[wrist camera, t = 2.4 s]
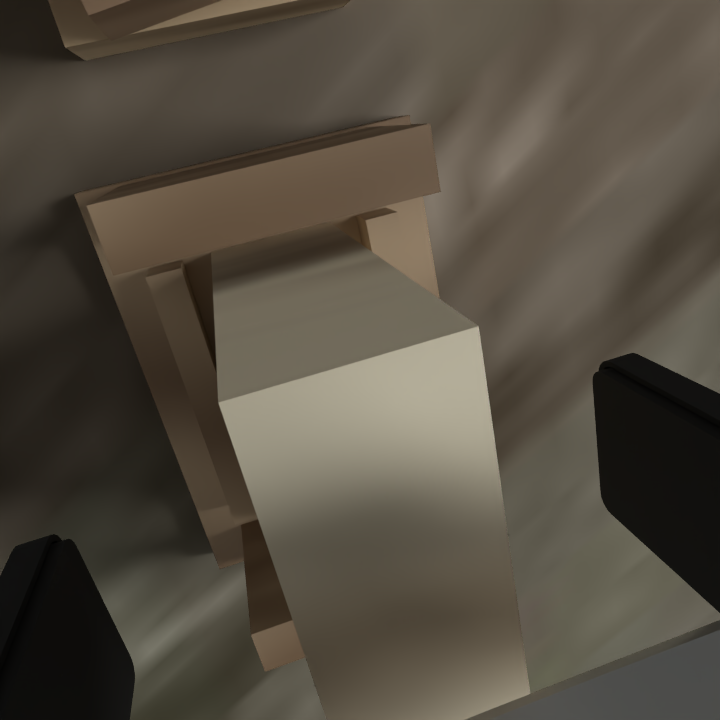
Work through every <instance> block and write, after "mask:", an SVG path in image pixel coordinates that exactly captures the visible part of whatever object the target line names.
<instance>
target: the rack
mask: <svg viewBox="0 0 720 720" xmlns="http://www.w3.org/2000/svg"><path fill="white" fill-rule="evenodd" d="M438 192H441V191H440V184H439V178H438V171H437V165H436V158H435V152H434V145H433V138H432V132H431V125H430V124H411V122H410V116H409V115H407V116H398V117H394V118H390V119H386V120H381V121H377V122H373V123H369V124H364V125H360V126H356V127H352V128H347V129H343V130H339V131H335V132H330V133H326V134H322V135H318V136H314V137H309V138H305V139H301V140H297V141H292V142H288V143H284V144H280V145H275V146H271V147H267V148H263V149H258V150H254V151H250V152H246V153H241V154H237V155H233V156H229V157H224V158H220V159H216V160H212V161H207V162H203V163H199V164H195V165H190V166H186V167H182V168H178V169H173V170H169V171H165V172H161V173H157V174H152V175H148V176H144V177H140V178H135V179H131V180H127V181H123V182H118V183H114V184H110V185H106V186H101V187H97V188H93V189H89V190H84V191H80V192H78V193H76V194H74V196H75V198H76V201H77V203H78V206H79V208H80V211H81V214H82V216H83V219H84V221H85V224H86V226H87V229H88V232H89V234H90V237H91V239H92V242H93V244H94V247H95V250H96V252H97V255H98V257H99V260H100V262H101V265H102V268H103V270H104V273H105V275H106V278H107V280H108V283H109V286H110V288H111V291H112V293H113V296H114V298H115V301H116V304H117V306H118V309H119V311H120V314H121V316H122V319H123V322H124V324H125V327H126V329H127V332H128V334H129V337H130V340H131V342H132V345H133V347H134V350H135V352H136V355H137V358H138V360H139V363H140V365H141V368H142V370H143V373H144V376H145V378H146V381H147V383H148V386H149V388H150V391H151V394H152V396H153V399H154V401H155V404H156V406H157V409H158V412H159V414H160V417H161V419H162V422H163V424H164V427H165V430H166V432H167V435H168V437H169V440H170V442H171V445H172V448H173V450H174V453H175V455H176V458H177V460H178V463H179V466H180V468H181V471H182V473H183V476H184V478H185V481H186V484H187V486H188V489H189V491H190V494H191V496H192V499H193V502H194V504H195V507H196V509H197V512H198V514H199V517H200V520H201V522H202V525H203V527H204V530H205V532H206V535H207V538H208V540H209V543H210V545H211V548H212V550H213V553H214V555H215V558H216V561H217V563H218V566H219V568H220V569H222V568H225V567H228V566H231V565H234V564H237V563H240V562H243V561H244V564H245V575H246V586H247V596H248V607H249V618H250V629H251V636H252V639H253V641H254V644H255V646H256V649H257V652H258V654H259V657H260V659H261V662H262V665H263V667H264V670H265V672H266V671H269V670H271V669H274V668H277V667H280V666H282V665H285V664H288V663H291V662H293V661H296V660H299V659H302V658H305V655H304V652H303V649H302V646H301V643H300V640H299V637H298V634H297V631H296V628H295V626H294V623H293V620H292V617H291V614H290V611H289V608H288V605H287V602H286V599H285V596H284V593H283V590H282V588H281V585H280V582H279V579H278V576H277V573H276V570H275V567H274V564H273V561H272V558H271V555H270V552H269V550H268V547H267V544H266V541H265V538H264V535H263V532H262V529H261V526H260V523H259V520H258V517H257V514H256V512H255V509H254V506H253V503H252V500H251V497H250V494H249V491H248V488H247V485H246V482H245V479H244V476H243V474H242V471H241V468H240V465H239V462H238V459H237V456H236V453H235V450H234V447H233V444H232V441H231V438H230V435H229V433H228V430H227V427H226V424H225V421H224V418H223V415H222V412H221V409H220V406H219V403H218V387H217V366H216V345H215V325H214V304H213V283H212V262H211V252H215V251H219V250H223V249H227V248H230V247H234V246H238V245H242V244H246V243H250V242H254V241H258V240H261V239H265V238H269V237H273V236H277V235H281V234H285V233H289V232H293V231H296V230H300V229H304V228H308V227H312V226H316V225H320V224H324V223H328V222H330V223H331V224H333V225H334V226H336V227H337V228H339V229H340V230H341V231H343V232H344V233H346V234H347V235H349V236H350V237H352V238H353V239H354V240H356V241H357V242H359V243H360V244H362V245H363V246H364V247H366V248H367V249H369V250H370V251H372V252H373V253H374V254H376V255H377V256H379V257H380V258H382V259H383V260H384V261H386V262H387V263H389V264H390V265H392V266H393V267H394V268H396V269H397V270H399V271H400V272H402V273H403V274H404V275H406V276H407V277H409V278H410V279H412V280H413V281H415V282H416V283H417V284H419V285H420V286H422V287H423V288H425V289H426V290H427V291H429V292H430V293H432V294H433V295H435V296H436V297H437V298H439V292H438V286H437V280H436V274H435V268H434V262H433V256H432V249H431V243H430V237H429V231H428V225H427V219H426V213H425V207H424V201H423V196H426V195H430V194H434V193H438ZM439 299H440V298H439Z"/></svg>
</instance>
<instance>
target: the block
mask: <svg viewBox="0 0 720 720" xmlns="http://www.w3.org/2000/svg"><path fill="white" fill-rule="evenodd" d="M211 262H212V283H213V304H214V325H215V345H216V366H217V387H218V403H219V406H220V409H221V412H222V415H223V418H224V421H225V424H226V427H227V430H228V433H229V435H230V438H231V441H232V444H233V447H234V450H235V453H236V456H237V459H238V462H239V465H240V468H241V471H242V474H243V476H244V479H245V482H246V485H247V488H248V491H249V494H250V497H251V500H252V503H253V506H254V509H255V512H256V514H257V517H258V520H259V523H260V526H261V529H262V532H263V535H264V538H265V541H266V544H267V547H268V550H269V552H270V555H271V558H272V561H273V564H274V567H275V570H276V573H277V576H278V579H279V582H280V585H281V588H282V590H283V593H284V596H285V599H286V602H287V605H288V608H289V611H290V614H291V617H292V620H293V623H294V626H295V628H296V631H297V634H298V637H299V640H300V643H301V646H302V649H303V652H304V655H305V658H306V661H307V664H308V667H309V669H310V672H311V675H312V678H313V681H314V684H315V687H316V690H317V693H318V696H319V699H320V702H321V705H322V707H323V710H324V713H325V716H326V719H327V720H465V719H468V718H470V717H473V716H475V715H478V714H480V713H483V712H485V711H488V710H490V709H493V708H496V707H498V706H501V705H503V704H506V703H508V702H511V701H513V700H516V699H518V698H521V697H524V696H526V695H529V694H530V688H529V681H528V674H527V667H526V660H525V653H524V646H523V639H522V631H521V624H520V617H519V610H518V603H517V596H516V589H515V582H514V575H513V567H512V560H511V553H510V546H509V539H508V532H507V525H506V518H505V511H504V503H503V496H502V489H501V482H500V475H499V468H498V461H497V454H496V446H495V439H494V432H493V425H492V418H491V411H490V404H489V397H488V390H487V382H486V375H485V368H484V361H483V354H482V347H481V340H480V333H479V326H478V325H476V324H475V323H473V322H472V321H470V320H469V319H467V318H466V317H465V316H463V315H462V314H460V313H459V312H457V311H456V310H455V309H453V308H452V307H450V306H449V305H447V304H446V303H445V302H443V301H442V300H440V299H439V298H437V297H436V296H435V295H433V294H432V293H430V292H429V291H427V290H426V289H425V288H423V287H422V286H420V285H419V284H417V283H416V282H415V281H413V280H412V279H410V278H409V277H407V276H406V275H404V274H403V273H402V272H400V271H399V270H397V269H396V268H394V267H393V266H392V265H390V264H389V263H387V262H386V261H384V260H383V259H382V258H380V257H379V256H377V255H376V254H374V253H373V252H372V251H370V250H369V249H367V248H366V247H364V246H363V245H362V244H360V243H359V242H357V241H356V240H354V239H353V238H352V237H350V236H349V235H347V234H346V233H344V232H343V231H341V230H340V229H339V228H337V227H336V226H334V225H333V224H331V223H330V222H328V223H324V224H320V225H316V226H312V227H308V228H304V229H300V230H296V231H293V232H289V233H285V234H281V235H277V236H273V237H269V238H265V239H261V240H258V241H254V242H250V243H246V244H242V245H238V246H234V247H230V248H227V249H223V250H219V251H215V252H211Z"/></svg>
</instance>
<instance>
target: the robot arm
mask: <svg viewBox="0 0 720 720" xmlns="http://www.w3.org/2000/svg"><path fill="white" fill-rule="evenodd" d="M593 394H594V407H595V421H596V435H597V449H598V462H599V476H600V490H601V497H602V500H603V503H604V505H605V507H606V508H607V510H608V511H609V512H610V513H611V514H612V515H613V516H614V517H615V518H616V519H617V520H618V521H619V522H621V523H622V524H623V525H624V526H625V527H626V528H627V529H628V530H629V531H630V532H632V533H633V534H634V535H635V536H636V537H637V538H638V539H639V540H640V541H641V542H643V543H644V544H645V545H646V546H647V547H648V548H649V549H650V550H651V551H652V552H654V553H655V554H656V555H657V556H658V557H659V558H660V559H661V560H662V561H663V562H665V563H666V564H667V565H668V566H669V567H670V568H671V569H672V570H673V571H674V572H676V573H677V574H678V575H679V576H680V577H681V578H682V579H683V580H684V581H685V582H687V583H688V584H689V585H690V586H691V587H692V588H693V589H694V590H695V591H696V592H698V593H699V594H700V595H701V596H702V597H703V598H704V599H705V600H706V601H707V602H708V603H710V604H711V605H712V606H713V607H714V608H715V609H716V610H717V611H718V612H719V613H720V394H719V393H717V392H715V391H713V390H711V389H709V388H707V387H704V386H702V385H700V384H698V383H696V382H694V381H692V380H690V379H688V378H686V377H684V376H682V375H680V374H678V373H675V372H673V371H671V370H669V369H667V368H665V367H663V366H661V365H659V364H657V363H655V362H653V361H651V360H649V359H646V358H644V357H642V356H640V355H638V354H635V353H630V354H627V355H623V356H620V357H617V358H614V359H611V360H607V361H604V362H602V364H601V365H600V367H599V372H596V373H595V374H594V376H593ZM134 683H135V672H134V666H133V662H132V659H131V657H130V655H129V652H128V650H127V648H126V646H125V644H124V642H123V640H122V638H121V636H120V634H119V632H118V630H117V628H116V626H115V624H114V622H113V620H112V618H111V616H110V614H109V612H108V610H107V608H106V606H105V604H104V602H103V599H102V597H101V595H100V593H99V591H98V589H97V587H96V585H95V583H94V581H93V579H92V577H91V575H90V573H89V571H88V569H87V567H86V565H85V563H84V561H83V559H82V557H81V555H80V553H79V551H78V549H77V546H76V545H75V543H74V542H73V541H72V540H71V539H66V540H63V541H62V540H61V538H59V537H58V536H57V535H55V534H53V535H49V536H46V537H43V538H40V539H37V540H33V541H30V542H27V543H24V544H21V545H18V546H16V547H15V548H14V549H13V551H12V553H11V555H10V557H9V559H8V561H7V563H6V565H5V567H4V569H3V572H2V574H1V576H0V720H130V713H131V706H132V698H133V691H134ZM465 720H720V620H719V621H716V622H714V623H711V624H709V625H706V626H703V627H701V628H698V629H696V630H693V631H690V632H688V633H685V634H683V635H680V636H677V637H675V638H672V639H670V640H667V641H665V642H662V643H659V644H657V645H654V646H652V647H649V648H646V649H644V650H641V651H639V652H636V653H634V654H631V655H628V656H626V657H623V658H621V659H618V660H615V661H613V662H610V663H608V664H605V665H603V666H600V667H597V668H595V669H592V670H590V671H587V672H585V673H582V674H580V675H577V676H574V677H572V678H569V679H567V680H564V681H562V682H559V683H557V684H554V685H552V686H549V687H546V688H544V689H541V690H539V691H536V692H534V693H531V694H529V695H526V696H524V697H521V698H518V699H516V700H513V701H511V702H508V703H506V704H503V705H501V706H498V707H496V708H493V709H490V710H488V711H485V712H483V713H480V714H478V715H475V716H473V717H470V718H468V719H465Z"/></svg>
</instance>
